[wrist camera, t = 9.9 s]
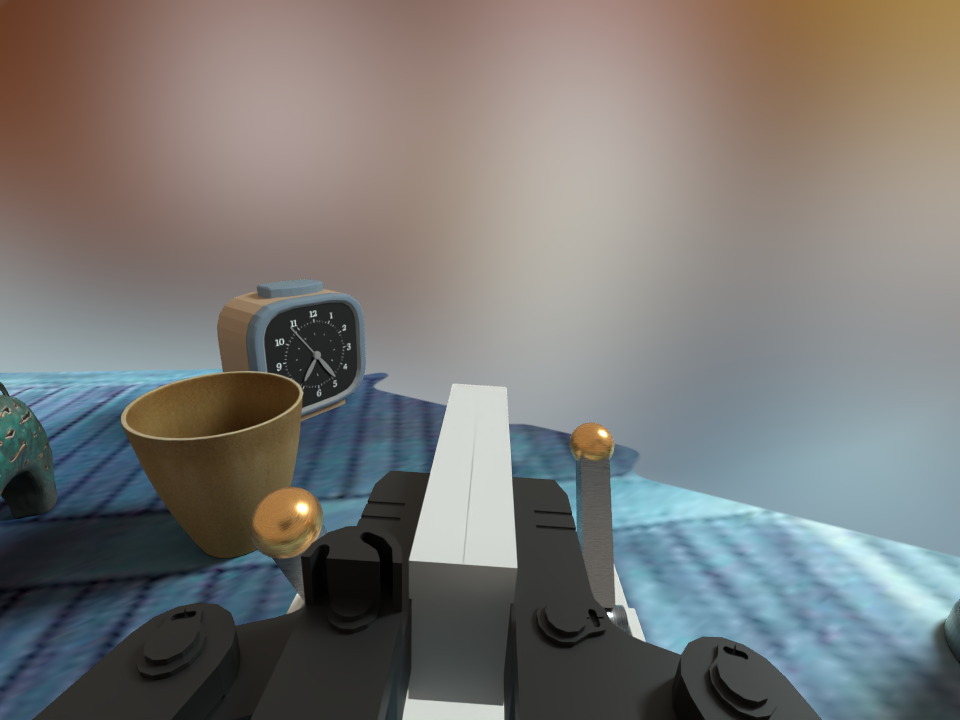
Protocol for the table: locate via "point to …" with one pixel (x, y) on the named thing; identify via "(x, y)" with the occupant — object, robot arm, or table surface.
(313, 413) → the alarm clock
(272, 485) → the plant pot
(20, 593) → the table surface
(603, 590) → the lever
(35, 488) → the ceramic cat
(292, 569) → the lever
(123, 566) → the table surface
